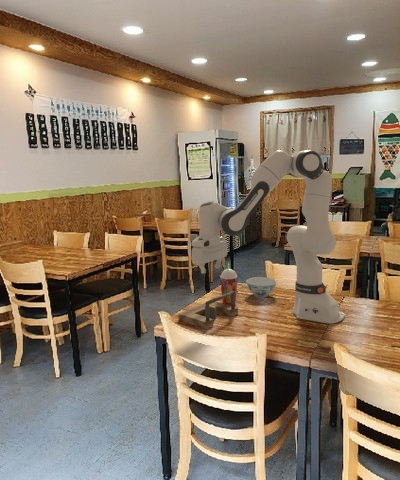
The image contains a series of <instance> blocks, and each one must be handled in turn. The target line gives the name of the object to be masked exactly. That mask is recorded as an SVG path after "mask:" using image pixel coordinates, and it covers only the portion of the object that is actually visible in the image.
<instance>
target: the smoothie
mask: <svg viewBox="0 0 400 480" xmlns="http://www.w3.org/2000/svg"><path fill="white" fill-rule="evenodd" d="M219 277H220V278H219V279H220V288H221V291H220V292H221V296H222V295H224V294H227V293H229V292H231V291H235V302H236V301H237V293H238V292H237V290H238V287H237V286H238V274H237V273H236V271H235V270H234V269H232V268H230V263H227V268H225V269H224V270H223V271H222V272H221V274H220V275H219ZM221 302H223V303H222V304H226V305H230V306H231V295H230V296H228V297H225V298H223V299H221Z"/></svg>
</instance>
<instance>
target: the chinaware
mask: <svg viewBox="0 0 400 480" xmlns="http://www.w3.org/2000/svg"><path fill="white" fill-rule="evenodd" d="M245 282H246V287H247V289H248V290H249V291H250V292H251V294H253V295H254V297H255V298H263V299H265V298H267V297H268V296H269V294H272V292H273V291H274V289H275V287H276V285H277V281H276V280H275V278H271V277H265V276H257V277H256V276H255V277H254V276H253V277H250V278H248V279H246V281H245Z"/></svg>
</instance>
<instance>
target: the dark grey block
mask: <svg viewBox="0 0 400 480" xmlns="http://www.w3.org/2000/svg"><path fill="white" fill-rule="evenodd" d="M209 311H210V318H211V319H213V320H216V319H217V312H216V306H214V305H209ZM204 317H206V305H205V315H204Z"/></svg>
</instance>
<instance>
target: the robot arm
mask: <svg viewBox="0 0 400 480" xmlns="http://www.w3.org/2000/svg"><path fill="white" fill-rule="evenodd" d="M287 175H289V176H291V177H293V178H301V179H302V178H303V179H304V183H305V188H304V192H303V193H304V194H303V200H302V207H301V213H302V215H303V216H304V218H305V220H306V221H305V222H306V225H302V224H301V225H294V226H291V227H290V228H289V230H288V231H287V233H286V241H287V243H288V245H289V246H290V248H291V249H292V253H293V255H294V259H295V266H296V281H295V287H294V288H295V289H294V291H295V297H294V304H293V308H292V311H291V312H292V313H293V314H294V315H295V317H296V318H297V319H301V320H307V321H313V322H317V323H325V324H328V325H329V324H330V325H331V324H337V323H339V322H341V321H342V320H344V318H345V313H344V312H342V311H340V305H339V303H338V300H336V299H335V298H334V297H332V296H331V295H330V294H329V293H328V292H327V288H328V284H324V283H323V264H322V263H321V261H320V260H319V258H318V255H320V256H321V255H322V256H327V255H330V254H331V253H333V251H334V250H335V248H336V246H337V238H336V236H335V234H334V233H333V231H332V230H331V226H330V221H329V210H330V202H331V197H332V185H333V184H332V183H333V181H332V180H333V178H332V174H331V172H329V171H328V170H325V168H324V164H323V162H322V158H321V155H320V154H319V153H318V152H317V151H316V150H312V149H305V150H300V151H297V152H296V153H293V154H291V155H290V154H288V152H286V151H285V150H282V149H278V150H275V151H273V153H271V154H270V155H269V156H268V157H266V159H264V160H263V161H262V163H260V164H259V166H258V167H257V168H256V169H255V171H254V172H253V174H252V176H251V177H250V183H251V184H250V185H251V186H250V190H249V192H248V193H247V195H246V196H245V198H244V199H243V200H242V201H241V202H240V204H239V205H238V206H237V207H236V208H234V209H233V208H231V207H227V206H224V205H222V204H220V203H218V202H217V201H214V200H213V201H207V202H204V203H202V204H201V205H200V207H199V210H198V225H199V235H198V236H197V237H195V238H194V239H193V240H192V241H191V247H192V248H191V263H192V264H193V265H195V266H198V267H199V269H200V273H201V274H207V268H205V266H206V264H207V263H210V262H214V261H216V262H215V264H214V269H216V270H217V269H218V270H219V269H220V268H221V264H222V261H223V259H224V258H226V257H227V256H228V246H227V241H226V238H225V237H224V236H221V231H223V232H224V233H225V234H226V235H228V236H232V237H235V236H237V237H238V236H240V235H241V234H242V233H244V231H245V230H246V228H247V225H248V222H249V219H250V218H251V216H252V215H253V213H255V211H256V210H257V209H258V207H259V206H260V204H262V202H263V201H264V199H265V198H266V197H267V196H268V195H269V194H270V193H271V192H272V191H273V190H274V189H275V188H276V187H277V186H278V184H279V183H280V182H281V181H282V180H283V179H284V177H285V176H287Z"/></svg>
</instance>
